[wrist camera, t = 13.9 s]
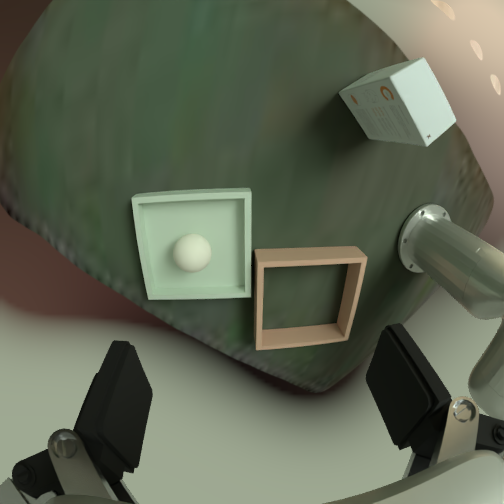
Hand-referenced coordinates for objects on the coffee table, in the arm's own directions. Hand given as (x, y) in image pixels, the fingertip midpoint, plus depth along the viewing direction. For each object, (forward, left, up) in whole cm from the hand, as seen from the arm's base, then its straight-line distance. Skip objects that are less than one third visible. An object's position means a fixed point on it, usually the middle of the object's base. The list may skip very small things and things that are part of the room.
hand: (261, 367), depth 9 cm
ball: (+6, +7, -25) cm, 27 cm away
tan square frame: (-10, +16, -28) cm, 34 cm away
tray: (+6, +7, -28) cm, 30 cm away
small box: (-18, -13, -29) cm, 36 cm away
